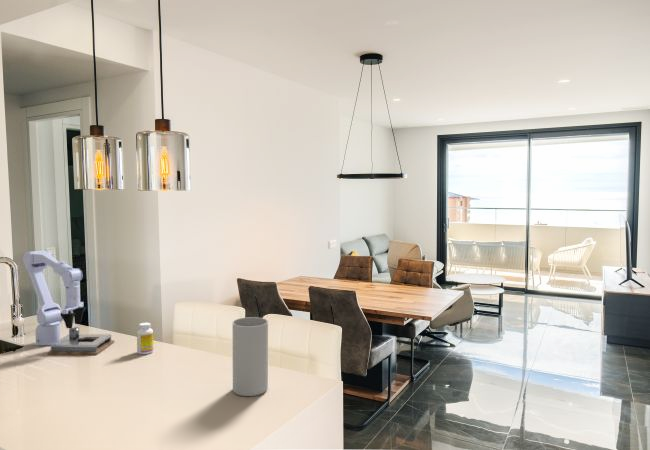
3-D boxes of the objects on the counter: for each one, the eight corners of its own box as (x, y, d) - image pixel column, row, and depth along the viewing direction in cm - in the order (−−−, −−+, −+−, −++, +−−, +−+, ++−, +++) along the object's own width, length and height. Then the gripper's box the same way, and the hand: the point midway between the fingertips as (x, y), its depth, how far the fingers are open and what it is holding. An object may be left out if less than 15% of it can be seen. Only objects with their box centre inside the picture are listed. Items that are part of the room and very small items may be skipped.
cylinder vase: (273, 385, 173) (273, 318, 171) (259, 399, 161) (259, 328, 159) (242, 381, 176) (242, 316, 174) (226, 394, 164) (226, 325, 162)
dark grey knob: (64, 348, 208) (64, 330, 207) (71, 343, 214) (71, 326, 213) (77, 348, 208) (77, 330, 207) (83, 344, 214) (83, 326, 213)
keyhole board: (47, 354, 202) (47, 352, 202) (68, 342, 219) (68, 340, 219) (97, 354, 203) (97, 352, 203) (114, 342, 220) (114, 340, 219)
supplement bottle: (156, 351, 207) (156, 323, 207) (143, 356, 202) (143, 326, 201) (146, 348, 211) (146, 321, 210) (134, 353, 205) (133, 324, 204)
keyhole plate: (51, 351, 203) (50, 344, 203) (69, 340, 218) (69, 334, 218) (96, 351, 203) (95, 344, 203) (111, 340, 218) (111, 334, 218)
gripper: (73, 299, 202) (74, 330, 203) (89, 292, 216) (90, 321, 217) (57, 299, 202) (57, 330, 203) (74, 292, 216) (75, 321, 217)
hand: (73, 325), depth 210 cm, fingers open, 7 cm apart
